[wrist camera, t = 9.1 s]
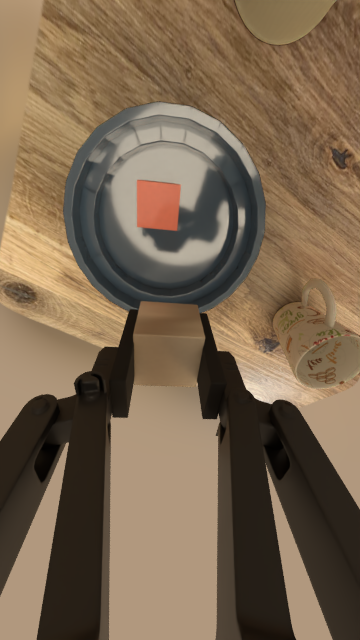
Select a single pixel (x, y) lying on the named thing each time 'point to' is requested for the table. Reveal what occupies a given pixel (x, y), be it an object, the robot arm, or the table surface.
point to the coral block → (157, 205)
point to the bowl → (194, 208)
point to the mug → (317, 341)
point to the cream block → (167, 344)
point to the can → (282, 18)
